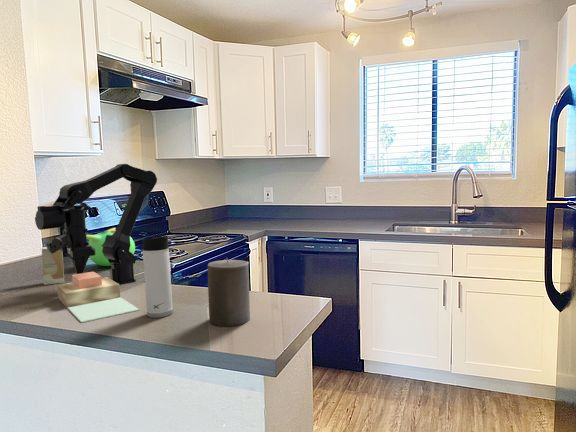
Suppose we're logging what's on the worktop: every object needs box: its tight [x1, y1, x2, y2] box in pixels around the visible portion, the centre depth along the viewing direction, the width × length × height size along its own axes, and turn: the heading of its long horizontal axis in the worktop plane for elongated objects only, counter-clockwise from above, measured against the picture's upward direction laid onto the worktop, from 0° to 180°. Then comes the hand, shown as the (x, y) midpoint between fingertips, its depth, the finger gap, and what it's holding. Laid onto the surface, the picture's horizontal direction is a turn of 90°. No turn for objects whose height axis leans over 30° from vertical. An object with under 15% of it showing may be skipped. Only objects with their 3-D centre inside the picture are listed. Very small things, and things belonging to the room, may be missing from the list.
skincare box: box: [41, 246, 65, 286], centre depth 150 cm, size 6×4×12 cm
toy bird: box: [86, 227, 136, 267], centre depth 175 cm, size 18×17×15 cm
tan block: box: [56, 276, 121, 309], centre depth 129 cm, size 14×13×4 cm
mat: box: [67, 296, 140, 324], centre depth 118 cm, size 14×16×1 cm
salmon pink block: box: [71, 271, 103, 289], centre depth 130 cm, size 6×9×2 cm, turn 37°
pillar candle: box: [207, 257, 251, 328], centre depth 105 cm, size 10×10×15 cm
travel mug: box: [141, 235, 174, 319], centre depth 111 cm, size 6×7×20 cm
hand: (79, 276), depth 137 cm, fingers closed
